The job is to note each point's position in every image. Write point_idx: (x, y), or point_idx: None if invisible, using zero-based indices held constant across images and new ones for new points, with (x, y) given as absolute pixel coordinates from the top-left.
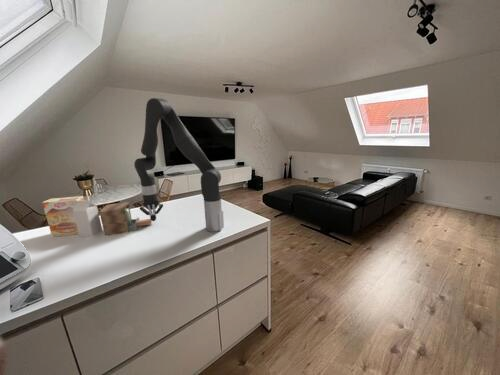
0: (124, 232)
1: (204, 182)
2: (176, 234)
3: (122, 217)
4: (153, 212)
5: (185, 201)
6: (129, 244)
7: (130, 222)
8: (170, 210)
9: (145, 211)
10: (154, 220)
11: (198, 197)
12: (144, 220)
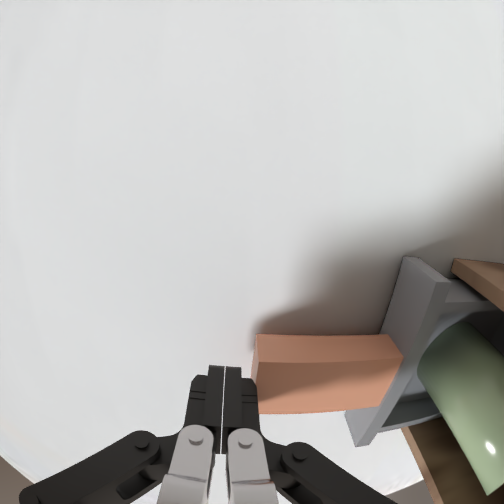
0: (476, 261)
1: None
2: (43, 6)
3: None
4: (199, 465)
5: None
6: (436, 6)
7: (449, 367)
8: None
9: (330, 494)
10: (212, 367)
11: None
12: (326, 393)
